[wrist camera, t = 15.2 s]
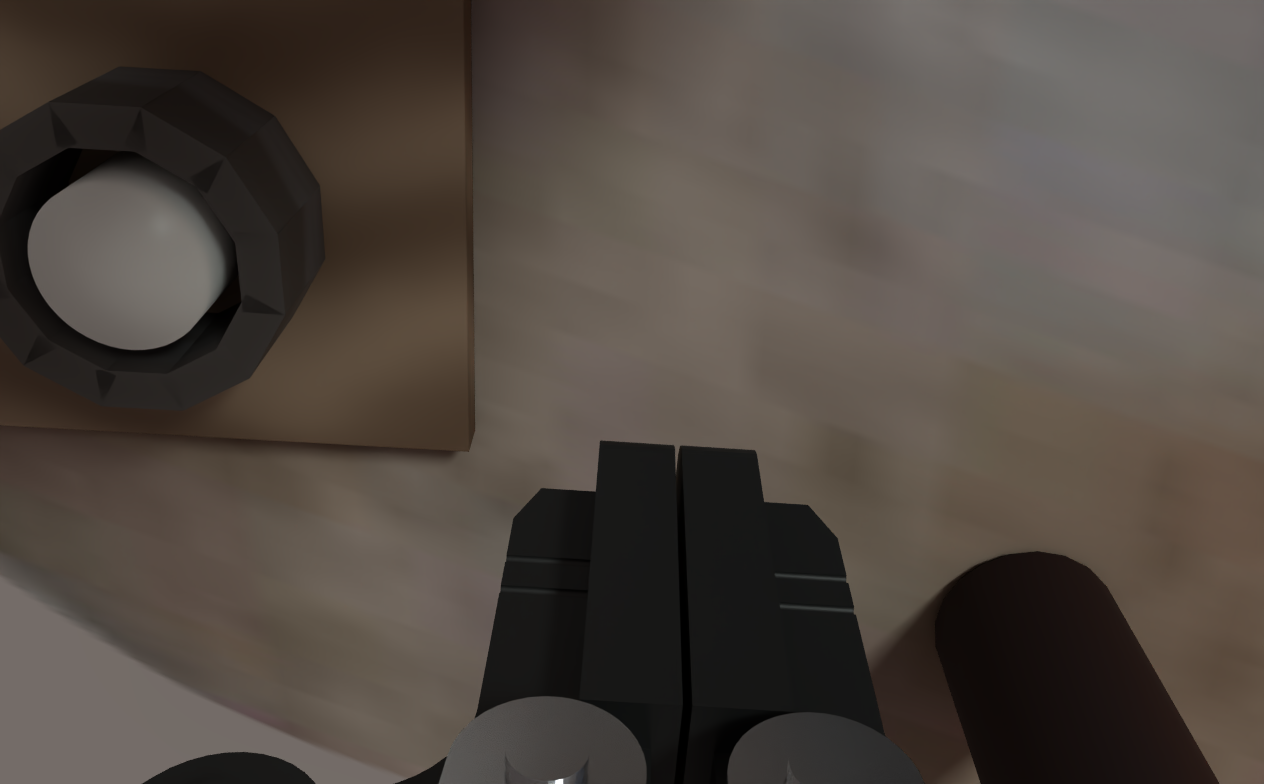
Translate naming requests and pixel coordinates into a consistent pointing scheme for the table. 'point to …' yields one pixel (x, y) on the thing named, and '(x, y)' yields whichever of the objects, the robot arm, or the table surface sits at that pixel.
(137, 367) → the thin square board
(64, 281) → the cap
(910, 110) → the table surface
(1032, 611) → the bottle
